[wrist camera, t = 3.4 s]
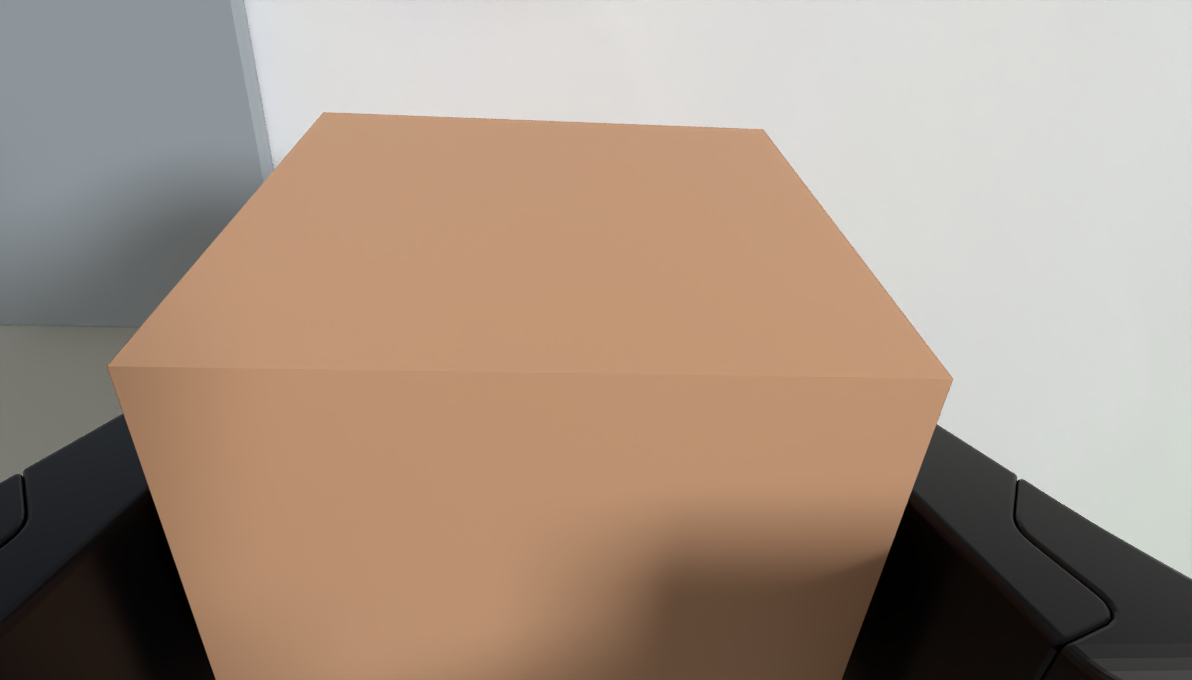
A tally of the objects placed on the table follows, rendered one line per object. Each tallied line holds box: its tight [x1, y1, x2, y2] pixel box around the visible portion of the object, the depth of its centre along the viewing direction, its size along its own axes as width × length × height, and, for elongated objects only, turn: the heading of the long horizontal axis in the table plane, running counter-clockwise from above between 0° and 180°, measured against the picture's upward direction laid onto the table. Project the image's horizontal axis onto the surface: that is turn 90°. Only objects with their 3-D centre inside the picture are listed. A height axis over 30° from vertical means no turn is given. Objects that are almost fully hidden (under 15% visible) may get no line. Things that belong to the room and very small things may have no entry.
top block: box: [107, 112, 953, 680], centre depth 8 cm, size 5×5×5 cm
